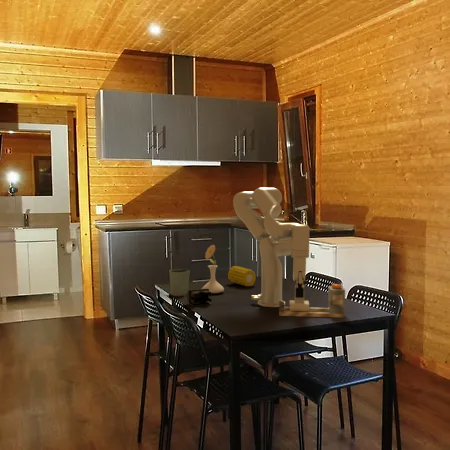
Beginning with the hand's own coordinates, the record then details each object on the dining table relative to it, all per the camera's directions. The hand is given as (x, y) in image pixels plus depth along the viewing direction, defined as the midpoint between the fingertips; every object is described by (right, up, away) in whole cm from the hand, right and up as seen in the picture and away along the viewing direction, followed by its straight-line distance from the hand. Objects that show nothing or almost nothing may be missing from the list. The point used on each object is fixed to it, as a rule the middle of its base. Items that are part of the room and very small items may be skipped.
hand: (299, 296), depth 219 cm
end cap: (-43, -7, +18) cm, 48 cm away
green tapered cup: (-55, -5, +40) cm, 68 cm away
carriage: (0, -6, 0) cm, 6 cm away
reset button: (+15, +4, -2) cm, 16 cm away
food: (-22, -3, +64) cm, 68 cm away
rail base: (+5, -8, 0) cm, 9 cm away
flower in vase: (-38, -5, +43) cm, 57 cm away
